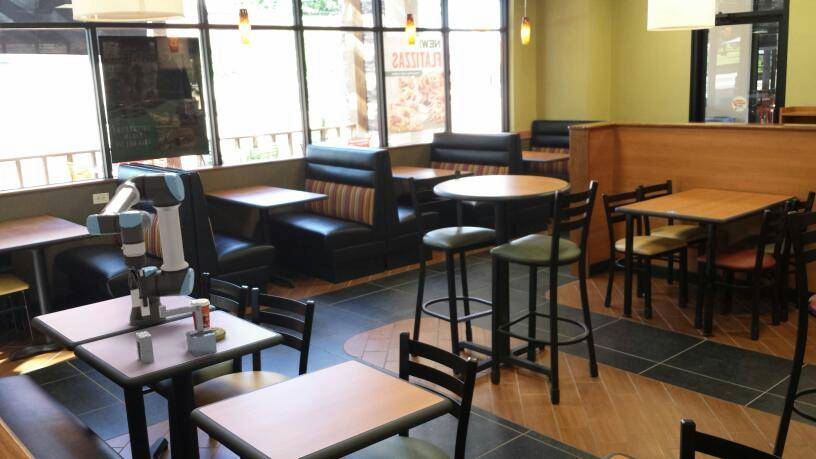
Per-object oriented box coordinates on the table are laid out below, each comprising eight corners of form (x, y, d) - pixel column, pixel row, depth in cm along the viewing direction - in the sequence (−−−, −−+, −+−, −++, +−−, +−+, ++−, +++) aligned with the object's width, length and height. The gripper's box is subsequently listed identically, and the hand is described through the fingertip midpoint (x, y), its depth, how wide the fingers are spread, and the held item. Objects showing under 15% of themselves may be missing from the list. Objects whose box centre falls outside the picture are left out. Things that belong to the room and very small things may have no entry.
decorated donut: (194, 339, 295) (193, 330, 294) (219, 333, 301) (218, 324, 301) (204, 345, 287) (203, 335, 286) (230, 338, 293) (229, 329, 292)
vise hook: (161, 355, 276) (155, 303, 273) (208, 344, 286) (204, 295, 283) (168, 362, 268) (163, 309, 265) (217, 351, 278) (212, 300, 274)
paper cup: (209, 336, 296) (206, 303, 294) (190, 337, 296) (187, 303, 294) (215, 330, 304) (212, 297, 301) (196, 331, 304) (193, 298, 302)
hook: (138, 359, 273) (135, 333, 272) (149, 356, 276) (146, 331, 274) (143, 364, 268) (140, 337, 266) (154, 361, 270) (151, 335, 268)
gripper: (115, 250, 273) (122, 305, 277) (132, 262, 252) (139, 321, 256) (136, 246, 277) (142, 301, 281) (154, 258, 256) (161, 316, 260)
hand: (141, 310), depth 269 cm, fingers open, 13 cm apart
